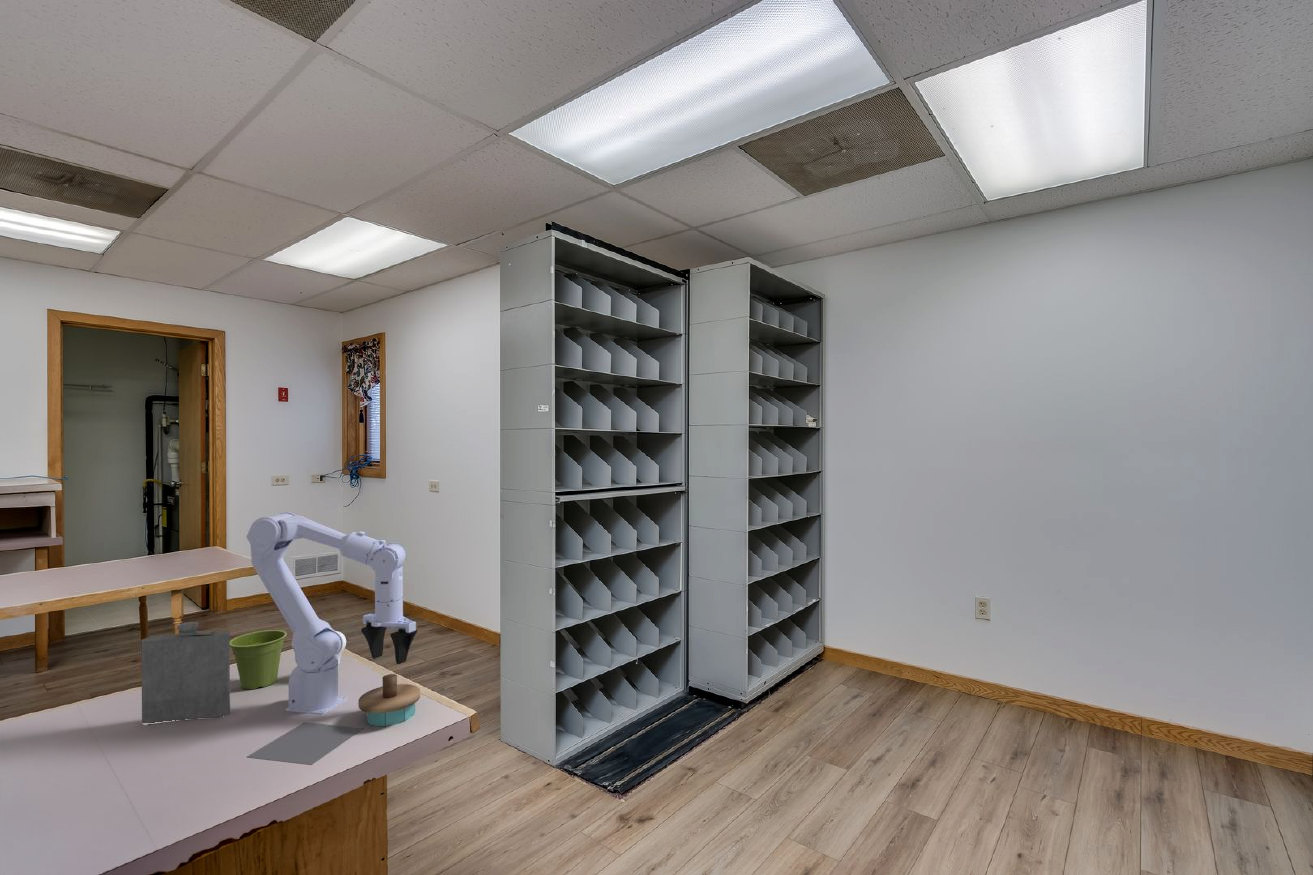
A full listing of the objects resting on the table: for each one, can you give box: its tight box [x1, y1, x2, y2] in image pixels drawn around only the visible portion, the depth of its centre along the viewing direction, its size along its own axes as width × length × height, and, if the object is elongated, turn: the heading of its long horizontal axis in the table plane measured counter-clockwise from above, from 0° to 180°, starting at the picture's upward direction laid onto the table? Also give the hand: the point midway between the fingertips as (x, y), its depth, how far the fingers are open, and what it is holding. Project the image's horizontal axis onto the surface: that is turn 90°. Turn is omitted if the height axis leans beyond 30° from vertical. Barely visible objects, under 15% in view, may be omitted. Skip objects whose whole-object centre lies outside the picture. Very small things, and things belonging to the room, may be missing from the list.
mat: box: [246, 722, 364, 766], centre depth 118 cm, size 14×14×1 cm
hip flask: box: [140, 621, 231, 724], centre depth 130 cm, size 16×4×20 cm, turn 104°
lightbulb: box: [335, 630, 347, 671], centre depth 153 cm, size 6×6×11 cm
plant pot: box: [230, 629, 288, 690], centre depth 148 cm, size 12×12×11 cm
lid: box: [357, 673, 421, 713], centre depth 129 cm, size 12×12×5 cm
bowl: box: [365, 703, 416, 727], centre depth 129 cm, size 9×9×4 cm
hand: (389, 659), depth 136 cm, fingers open, 7 cm apart
